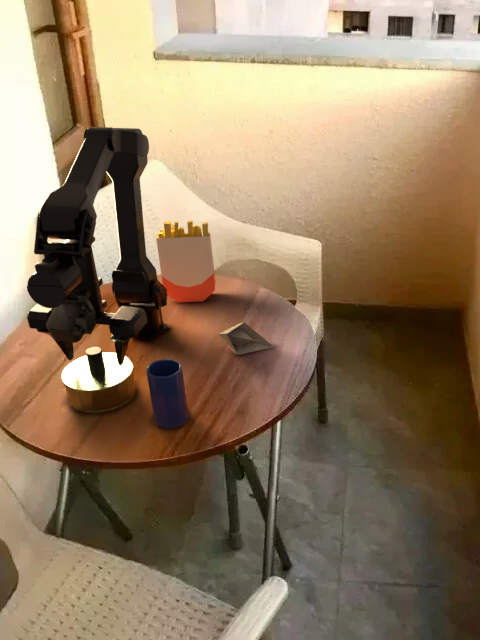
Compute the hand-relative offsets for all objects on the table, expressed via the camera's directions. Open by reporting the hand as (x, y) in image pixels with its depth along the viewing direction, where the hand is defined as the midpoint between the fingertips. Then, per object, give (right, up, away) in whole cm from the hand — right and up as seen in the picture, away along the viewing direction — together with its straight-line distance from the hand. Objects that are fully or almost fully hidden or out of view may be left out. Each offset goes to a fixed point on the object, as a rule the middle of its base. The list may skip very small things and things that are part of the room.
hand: (96, 361), depth 123 cm
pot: (0, -6, +4) cm, 7 cm away
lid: (0, -2, +1) cm, 2 cm away
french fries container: (+10, +14, +35) cm, 39 cm away
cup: (+13, -10, -2) cm, 16 cm away
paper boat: (+24, +2, +15) cm, 28 cm away
